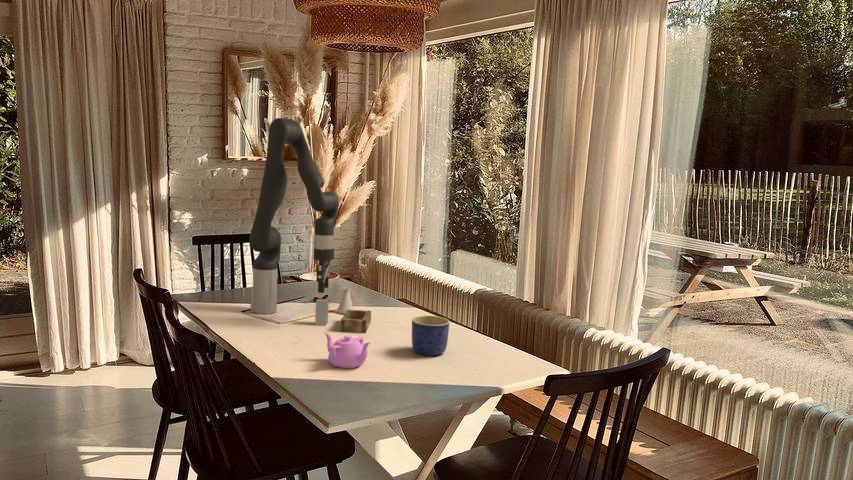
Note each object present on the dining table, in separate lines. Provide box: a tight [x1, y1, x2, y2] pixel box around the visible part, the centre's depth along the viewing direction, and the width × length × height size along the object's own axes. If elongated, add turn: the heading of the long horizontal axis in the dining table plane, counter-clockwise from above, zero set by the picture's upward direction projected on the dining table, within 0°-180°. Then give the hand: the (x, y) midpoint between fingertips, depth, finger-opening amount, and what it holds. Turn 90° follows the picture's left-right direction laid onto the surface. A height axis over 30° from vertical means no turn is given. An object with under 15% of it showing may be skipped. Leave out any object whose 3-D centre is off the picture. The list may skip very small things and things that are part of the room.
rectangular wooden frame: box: [340, 309, 372, 334], centre depth 259 cm, size 9×15×4 cm, turn 177°
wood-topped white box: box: [314, 298, 330, 327], centre depth 260 cm, size 4×4×9 cm
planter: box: [411, 315, 450, 356], centre depth 233 cm, size 12×12×11 cm
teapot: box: [323, 331, 371, 369], centre depth 217 cm, size 12×14×9 cm
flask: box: [336, 286, 355, 315], centre depth 279 cm, size 7×7×10 cm
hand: (323, 290), depth 259 cm, fingers open, 8 cm apart
